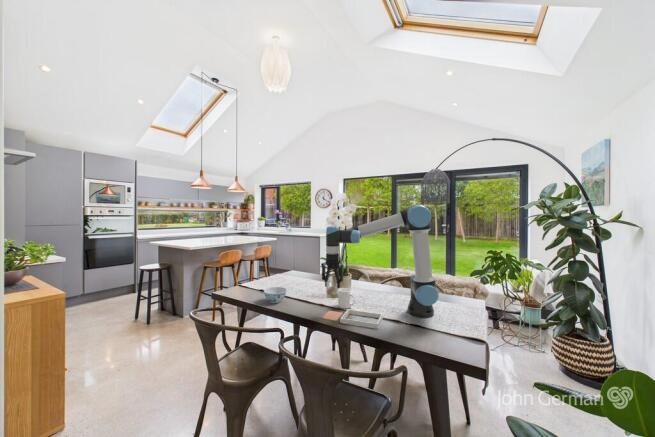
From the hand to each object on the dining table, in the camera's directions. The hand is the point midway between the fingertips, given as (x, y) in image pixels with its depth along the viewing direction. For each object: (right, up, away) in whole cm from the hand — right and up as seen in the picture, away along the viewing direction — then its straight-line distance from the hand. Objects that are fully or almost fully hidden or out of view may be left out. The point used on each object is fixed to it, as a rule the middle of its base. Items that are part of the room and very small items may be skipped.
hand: (332, 292), depth 158 cm
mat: (0, -14, 0) cm, 14 cm away
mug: (+10, -13, +15) cm, 22 cm away
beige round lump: (0, -2, 0) cm, 2 cm away
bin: (+16, -14, -6) cm, 22 cm away
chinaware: (-38, -13, +25) cm, 47 cm away
